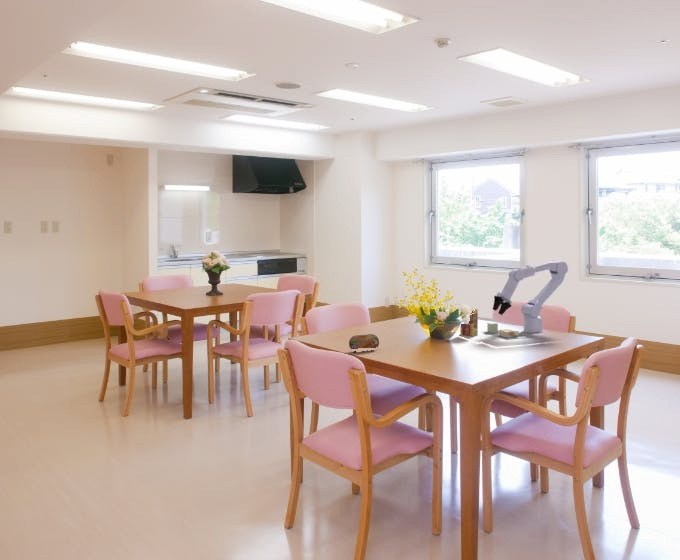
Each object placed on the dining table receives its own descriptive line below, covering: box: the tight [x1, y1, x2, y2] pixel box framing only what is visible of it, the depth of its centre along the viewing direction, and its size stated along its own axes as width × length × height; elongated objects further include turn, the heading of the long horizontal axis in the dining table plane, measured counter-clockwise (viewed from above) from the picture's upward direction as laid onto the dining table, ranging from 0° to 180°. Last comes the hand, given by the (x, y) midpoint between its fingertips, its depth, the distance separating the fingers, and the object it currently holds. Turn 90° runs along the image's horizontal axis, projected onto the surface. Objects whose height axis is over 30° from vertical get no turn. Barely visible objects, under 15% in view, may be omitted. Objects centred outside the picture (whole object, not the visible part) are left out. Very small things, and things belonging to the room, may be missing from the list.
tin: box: [348, 333, 380, 350], centre depth 292 cm, size 15×3×8 cm, turn 105°
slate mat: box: [482, 329, 530, 341], centre depth 319 cm, size 14×25×1 cm, turn 17°
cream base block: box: [499, 328, 520, 338], centre depth 315 cm, size 7×7×3 cm
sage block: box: [486, 322, 499, 333], centre depth 326 cm, size 4×4×5 cm
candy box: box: [459, 308, 479, 337], centre depth 321 cm, size 9×4×15 cm, turn 39°
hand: (497, 312), depth 321 cm, fingers open, 7 cm apart
